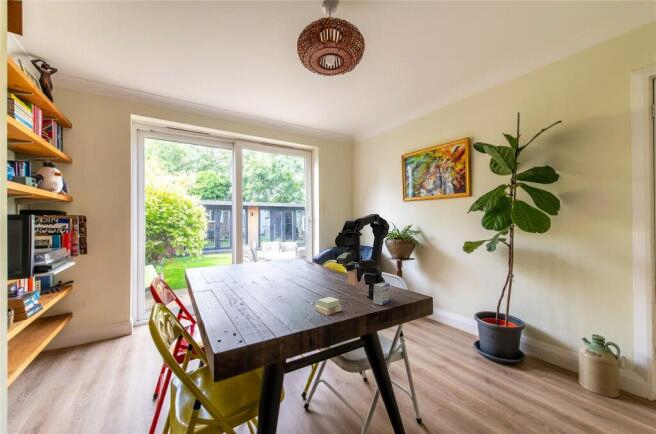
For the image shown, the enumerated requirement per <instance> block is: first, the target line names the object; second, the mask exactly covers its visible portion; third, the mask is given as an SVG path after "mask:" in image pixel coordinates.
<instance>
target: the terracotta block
mask: <svg viewBox="0 0 656 434" xmlns="http://www.w3.org/2000/svg"><path fill="white" fill-rule="evenodd" d="M347 284H350V285H353V286H358V285H361V284H363V277H362V278H361V281H360V282H358V280H357V270H356V269H354V270H351V271H348V273H347Z"/></svg>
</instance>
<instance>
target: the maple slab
mask: <svg viewBox="0 0 656 434" xmlns="http://www.w3.org/2000/svg"><path fill="white" fill-rule="evenodd" d="M342 309H343V308H342V305H340V304H339V306H336V307H333V308H330V309H326V308H324V307H321V306H318V304H317V305H315V311H316V312H318V313H320V314H323V315H325V316H329V315H332V314H335V313H338V312H341V311H342Z"/></svg>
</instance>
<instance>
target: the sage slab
mask: <svg viewBox="0 0 656 434" xmlns="http://www.w3.org/2000/svg"><path fill="white" fill-rule="evenodd" d="M317 302H318V303H317V305H318V306H321V307H324V308H326V309H330V308H333V307H336V306H339V305H340V299H338V298H334V297H331V296H328V297H327V296H326V297H323V298H320V299H318V301H317Z"/></svg>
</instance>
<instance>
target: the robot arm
mask: <svg viewBox="0 0 656 434" xmlns="http://www.w3.org/2000/svg"><path fill="white" fill-rule="evenodd" d="M368 225H369V227H370V228H371V231H372V233H371V234H373V236H374V238H373V243H372V248H371V249H372V251H371V255H370V259H368V258H367V259H364V258H363V257H361V256H362V255H361V251H363V248H362V247H361V236H362V237H363V233H362V232H361V231H362V230H363V229H364V227H365V226H368ZM390 227H391V226H390V224H389V222H388V221H387V220H386V219H384V218H383V217H381V216H380V214H379V213H370V214H368V215H365V216H362V217H359V218H347V219H345V221H344V223H343V226H342V229H341V231H338V233H337V234H338V235H336V236H335V239H334V244H335V246H336V247H337V248H338V249H344V248H345V250H344V251H345V252H343V253H342V254H340V255H338V257H336V262H335V263H336V264H337V265H341V267H343V268H344V269H345V270H346V272H347V274H348V271H351V270H357V280H358V282H360V281H361V278H362V279H364V283H365V285H366V286H368V295H366V298H368V299H372V300H374V285H376V284H378V283H381V282H386V280H385V278H384V277H383V272H382V269H381V259H382V252H383V246H384V240H385V238H386V237H387V236H388V234H389V232H390ZM355 265H357V266H355Z"/></svg>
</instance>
